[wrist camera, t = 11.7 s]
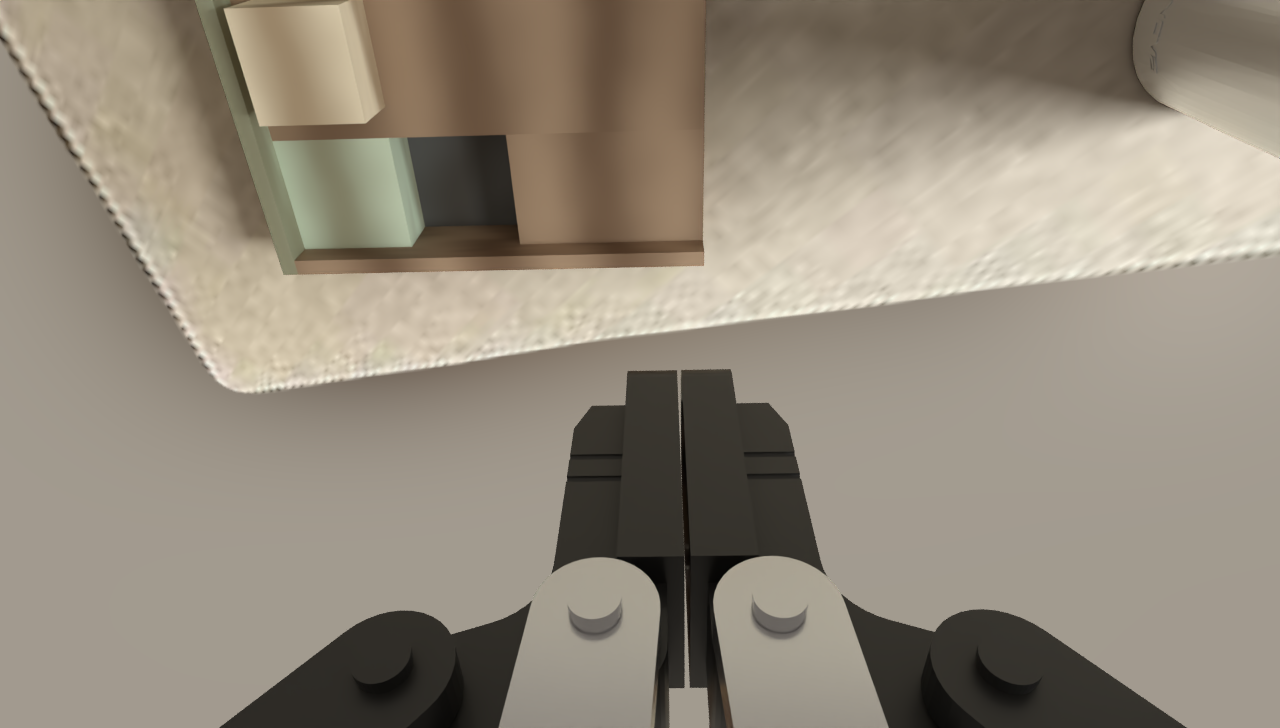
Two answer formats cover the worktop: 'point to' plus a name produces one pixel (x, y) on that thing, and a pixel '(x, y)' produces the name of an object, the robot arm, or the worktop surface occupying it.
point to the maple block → (307, 61)
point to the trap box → (494, 141)
